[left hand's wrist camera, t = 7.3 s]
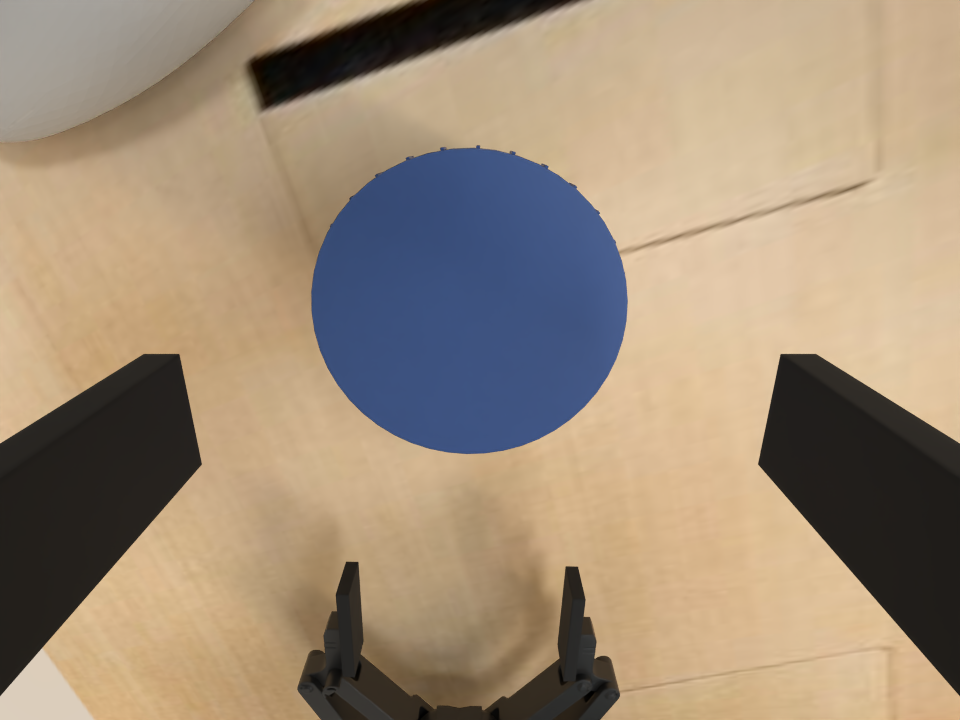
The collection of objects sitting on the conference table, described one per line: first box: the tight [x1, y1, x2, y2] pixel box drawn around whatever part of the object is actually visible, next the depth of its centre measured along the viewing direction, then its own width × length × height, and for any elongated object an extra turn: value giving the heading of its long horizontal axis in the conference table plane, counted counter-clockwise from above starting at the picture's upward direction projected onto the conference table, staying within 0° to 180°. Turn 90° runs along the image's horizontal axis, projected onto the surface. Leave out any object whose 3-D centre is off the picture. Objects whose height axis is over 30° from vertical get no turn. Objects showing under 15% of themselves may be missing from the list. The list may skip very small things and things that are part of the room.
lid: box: [311, 145, 628, 454], centre depth 20 cm, size 11×11×2 cm
